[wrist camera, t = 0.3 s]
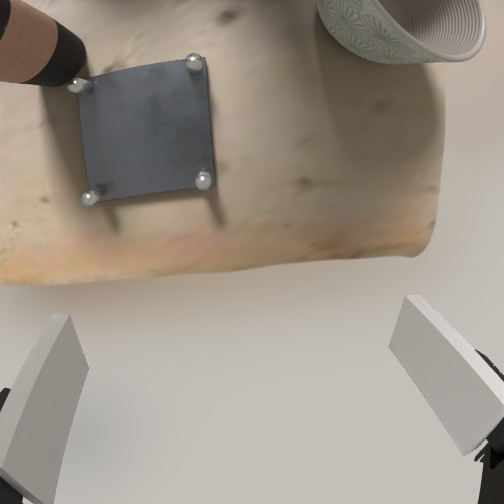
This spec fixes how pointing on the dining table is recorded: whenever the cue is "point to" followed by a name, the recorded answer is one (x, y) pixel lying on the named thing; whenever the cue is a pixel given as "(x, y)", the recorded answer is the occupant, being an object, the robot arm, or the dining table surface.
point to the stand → (145, 129)
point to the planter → (406, 29)
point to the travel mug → (36, 47)
